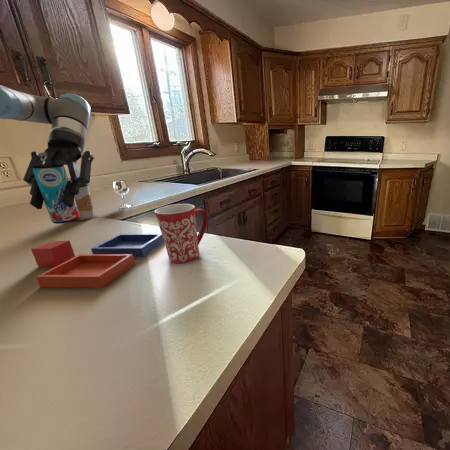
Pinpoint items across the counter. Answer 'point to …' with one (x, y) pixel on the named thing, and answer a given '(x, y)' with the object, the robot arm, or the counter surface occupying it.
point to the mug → (181, 231)
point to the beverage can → (55, 193)
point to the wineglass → (121, 190)
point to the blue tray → (129, 244)
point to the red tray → (86, 270)
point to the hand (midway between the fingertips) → (52, 205)
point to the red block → (53, 253)
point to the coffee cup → (84, 202)
